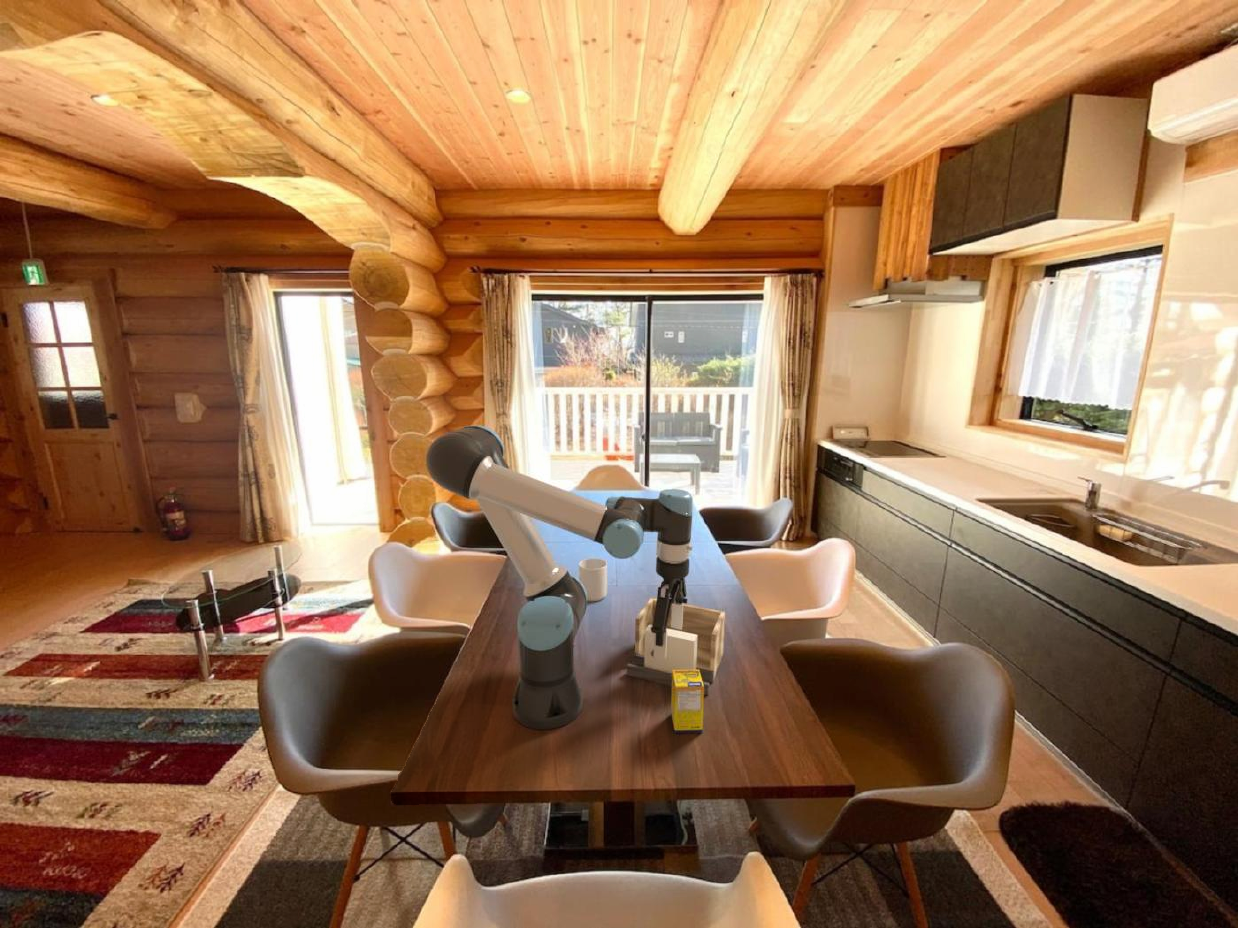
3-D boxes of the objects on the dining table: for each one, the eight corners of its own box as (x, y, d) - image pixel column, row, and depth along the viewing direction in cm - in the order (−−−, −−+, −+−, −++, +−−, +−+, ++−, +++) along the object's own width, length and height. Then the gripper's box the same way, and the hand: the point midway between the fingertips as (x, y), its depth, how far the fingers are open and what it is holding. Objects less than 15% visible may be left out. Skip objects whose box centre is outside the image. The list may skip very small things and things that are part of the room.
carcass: (708, 695, 118) (710, 647, 115) (626, 674, 125) (626, 629, 123) (723, 653, 134) (725, 611, 132) (650, 638, 141) (651, 597, 139)
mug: (604, 603, 161) (604, 570, 158) (576, 601, 162) (576, 568, 160) (610, 586, 172) (610, 555, 170) (584, 584, 174) (583, 553, 171)
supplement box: (697, 713, 112) (699, 668, 110) (702, 733, 106) (704, 686, 104) (670, 713, 112) (671, 668, 110) (674, 733, 106) (675, 686, 104)
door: (691, 690, 120) (693, 643, 117) (642, 677, 124) (643, 632, 122) (695, 680, 123) (697, 634, 121) (648, 668, 128) (648, 624, 125)
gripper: (673, 582, 105) (668, 674, 110) (701, 542, 128) (696, 620, 132) (638, 575, 108) (635, 666, 112) (672, 537, 130) (668, 614, 135)
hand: (668, 641), depth 122 cm, fingers open, 13 cm apart
